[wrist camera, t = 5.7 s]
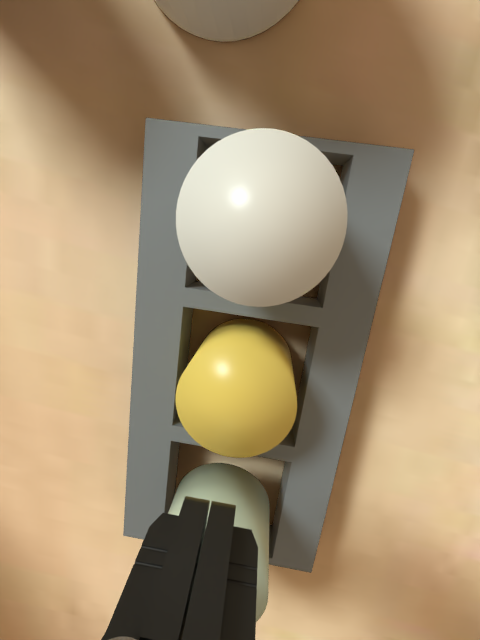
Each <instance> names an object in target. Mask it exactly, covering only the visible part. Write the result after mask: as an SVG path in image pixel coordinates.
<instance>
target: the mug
mask: <svg viewBox="0 0 480 640" xmlns="http://www.w3.org/2000/svg"><path fill="white" fill-rule="evenodd" d="M154 1H155V2H156V4H157V5H158V7H159V8H160V9H161V10H162V11H163V12H164V13H165V15H166V16H167V17H168V18H169V19H170V20H172V21H173V22H174V23H175V24H176V25H178V26H179V27H180V28H182V29H184V30H185V31H187V32H189V33H191V34H193V35H195V36H198V37H201V38H204V39H207V40H213V41H221V42H225V41H238V40H242V39H246V38H250V37H252V36H255V35H257V34H259V33H262V32H264V31H265V30H267V29H268V28H270V27H271V26H273V25H275V24H276V23H277V22H278V21H280V20H281V19H282V18H283V17H284V16H285V15H286V14H287V13H289V12H290V10H291V9H292V8H293V7H294V6H295V4H296V3H297V2H298V1H299V0H154Z"/></svg>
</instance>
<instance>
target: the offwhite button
mask: <svg viewBox="0 0 480 640" xmlns="http://www.w3.org/2000/svg"><path fill="white" fill-rule="evenodd" d="M346 229H347V203H346V197H345V193H344V189H343V186H342V183H341V181H340V178H339V176H338V174H337V173H336V171H335V169H334V167H333V166H332V164H331V163H330V162H329V160H328V159H327V158H326V156H325V155H324V154H323V153H322V152H320V151H319V150H318V149H317V148H316V147H315V146H314V145H312V144H311V143H309V142H308V141H307V140H305V139H303V138H301V137H299V136H297V135H295V134H292V133H289V132H286V131H282V130H277V129H270V128H257V129H248V130H244V131H240V132H237V133H234V134H232V135H229V136H227V137H225V138H223V139H221V140H220V141H218V142H216V143H215V144H214V145H212V146H211V147H210V148H208V149H207V150H206V151H205V152H204V153H203V154H202V155H201V156H200V157H199V158H198V159H197V161H196V162H195V163H194V165H193V166H192V167H191V169H190V171H189V172H188V174H187V176H186V178H185V180H184V182H183V185H182V187H181V190H180V193H179V197H178V201H177V208H176V230H177V237H178V241H179V245H180V248H181V251H182V254H183V256H184V258H185V260H186V262H187V264H188V266H189V267H190V269H191V270H192V272H193V273H194V275H195V276H196V277H197V278H198V279H199V280H200V281H201V283H203V284H204V285H205V286H206V287H207V288H208V289H209V290H211V291H212V292H214V293H215V294H217V295H218V296H220V297H222V298H224V299H226V300H228V301H231V302H234V303H237V304H241V305H245V306H253V307H269V306H275V305H280V304H283V303H286V302H290V301H292V300H294V299H296V298H299V297H300V296H302V295H304V294H305V293H307V292H309V291H310V290H311V289H312V288H314V287H315V286H316V285H317V284H318V283H319V282H320V281H321V280H322V279H323V278H324V277H325V276H326V275H327V273H328V272H329V271H330V269H331V268H332V267H333V265H334V263H335V261H336V260H337V258H338V256H339V254H340V251H341V249H342V246H343V243H344V239H345V235H346Z"/></svg>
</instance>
